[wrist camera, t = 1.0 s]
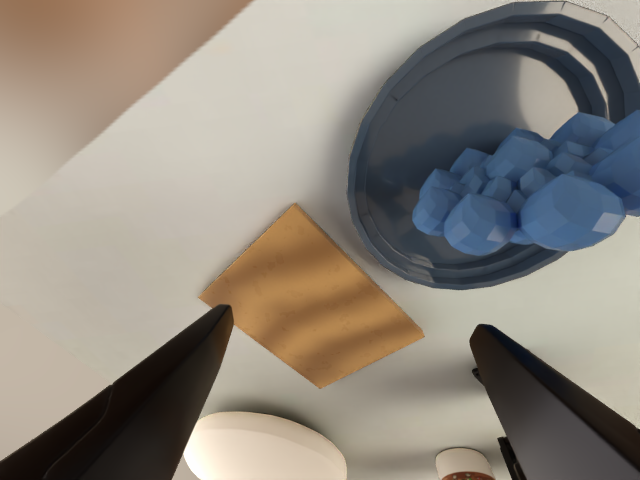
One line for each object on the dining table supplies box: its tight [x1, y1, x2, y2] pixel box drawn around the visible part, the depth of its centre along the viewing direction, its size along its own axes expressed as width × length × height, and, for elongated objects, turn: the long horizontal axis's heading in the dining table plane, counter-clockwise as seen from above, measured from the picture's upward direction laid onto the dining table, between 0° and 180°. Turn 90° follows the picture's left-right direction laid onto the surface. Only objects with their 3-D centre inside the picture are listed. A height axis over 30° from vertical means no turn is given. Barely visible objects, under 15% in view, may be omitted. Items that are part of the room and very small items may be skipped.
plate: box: [184, 411, 347, 480], centre depth 38 cm, size 28×6×27 cm
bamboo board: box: [198, 203, 425, 389], centre depth 26 cm, size 20×16×1 cm
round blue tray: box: [347, 1, 640, 290], centre depth 17 cm, size 19×19×2 cm
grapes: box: [412, 110, 640, 256], centre depth 13 cm, size 12×7×12 cm, turn 116°
